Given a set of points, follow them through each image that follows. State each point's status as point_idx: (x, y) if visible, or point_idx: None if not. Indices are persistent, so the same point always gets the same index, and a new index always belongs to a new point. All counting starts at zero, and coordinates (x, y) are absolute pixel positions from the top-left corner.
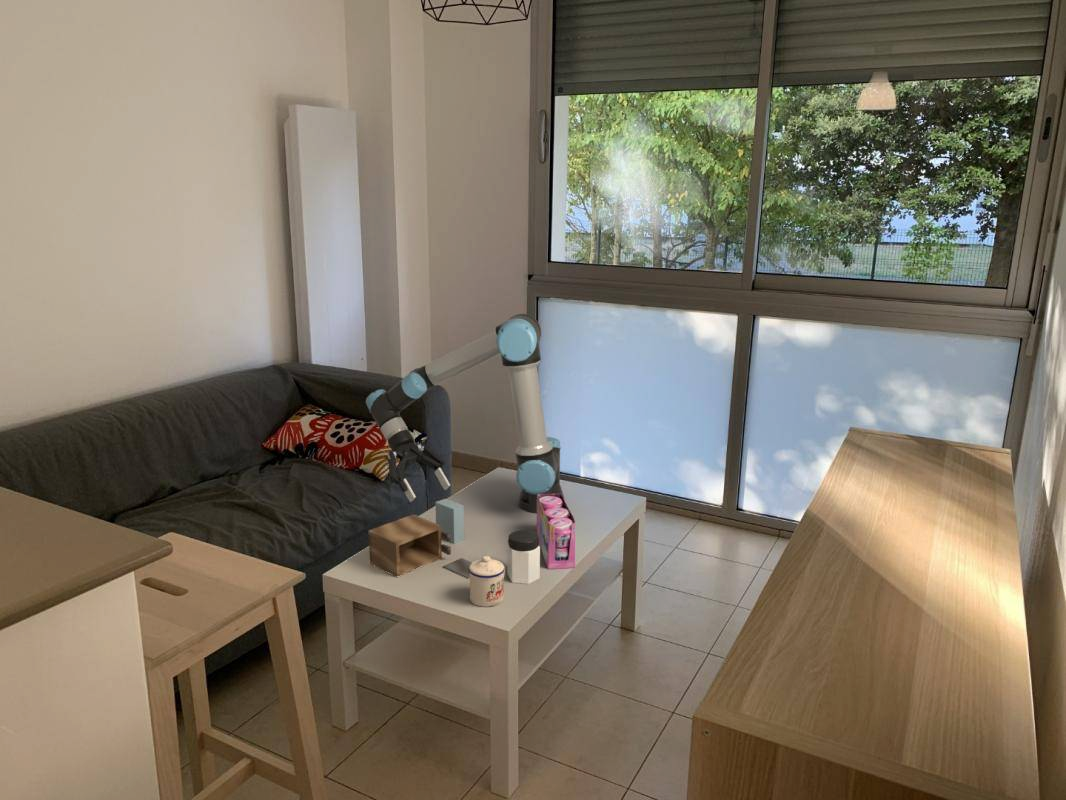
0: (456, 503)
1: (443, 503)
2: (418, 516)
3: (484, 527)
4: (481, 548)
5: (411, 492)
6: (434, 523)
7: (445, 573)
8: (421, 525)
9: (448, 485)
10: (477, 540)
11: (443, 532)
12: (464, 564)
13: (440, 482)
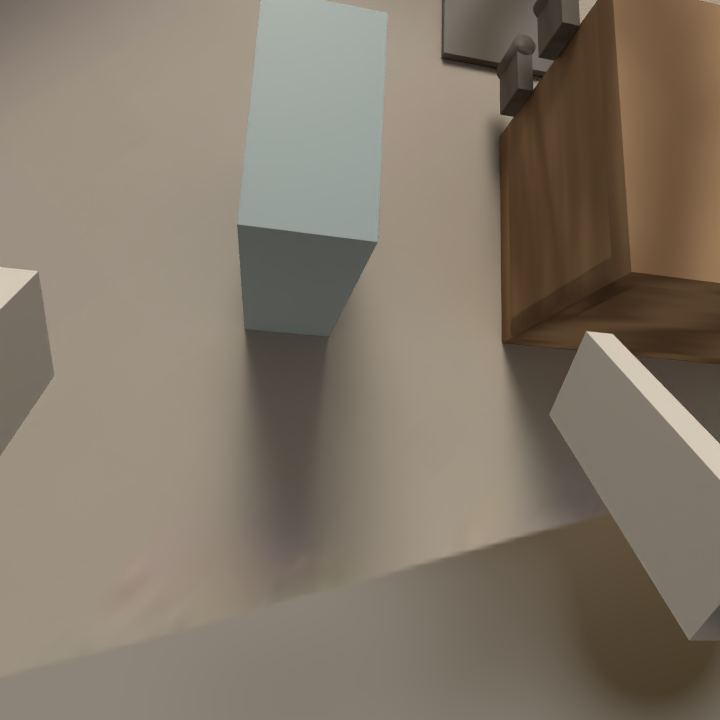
0: (268, 62)
1: (348, 161)
2: (630, 206)
3: (25, 184)
4: None
5: (645, 373)
6: (621, 35)
7: None
8: (703, 88)
9: (33, 274)
10: (217, 113)
11: (574, 8)
12: (482, 6)
13: (1, 446)
